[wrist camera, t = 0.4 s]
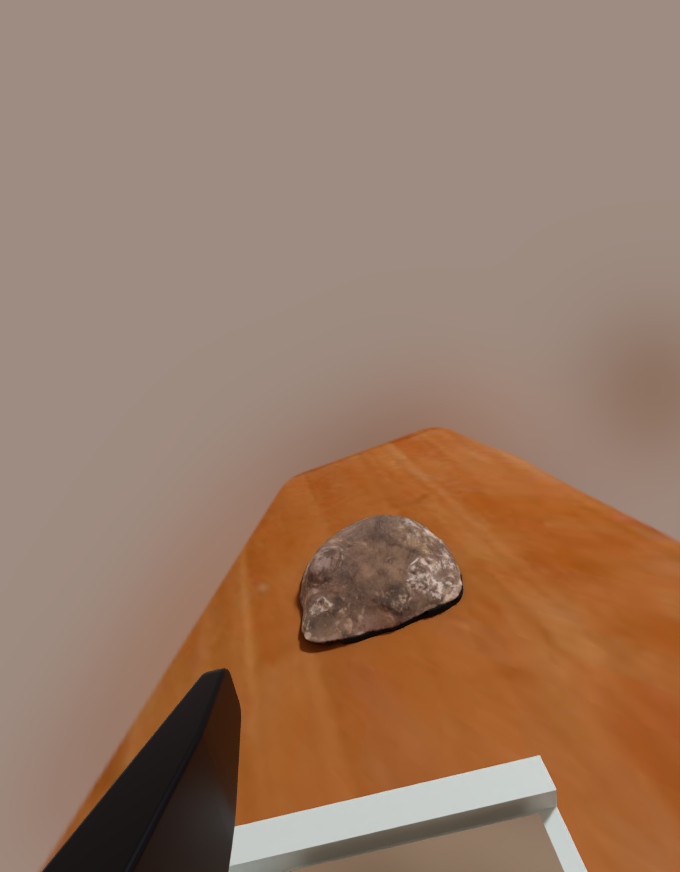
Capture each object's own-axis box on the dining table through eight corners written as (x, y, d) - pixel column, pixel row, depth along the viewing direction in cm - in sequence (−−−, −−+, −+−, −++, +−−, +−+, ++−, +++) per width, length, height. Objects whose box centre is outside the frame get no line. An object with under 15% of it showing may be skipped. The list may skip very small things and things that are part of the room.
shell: (298, 550, 37) (288, 520, 36) (425, 516, 38) (420, 485, 36) (303, 660, 27) (288, 624, 25) (479, 611, 27) (475, 572, 26)
